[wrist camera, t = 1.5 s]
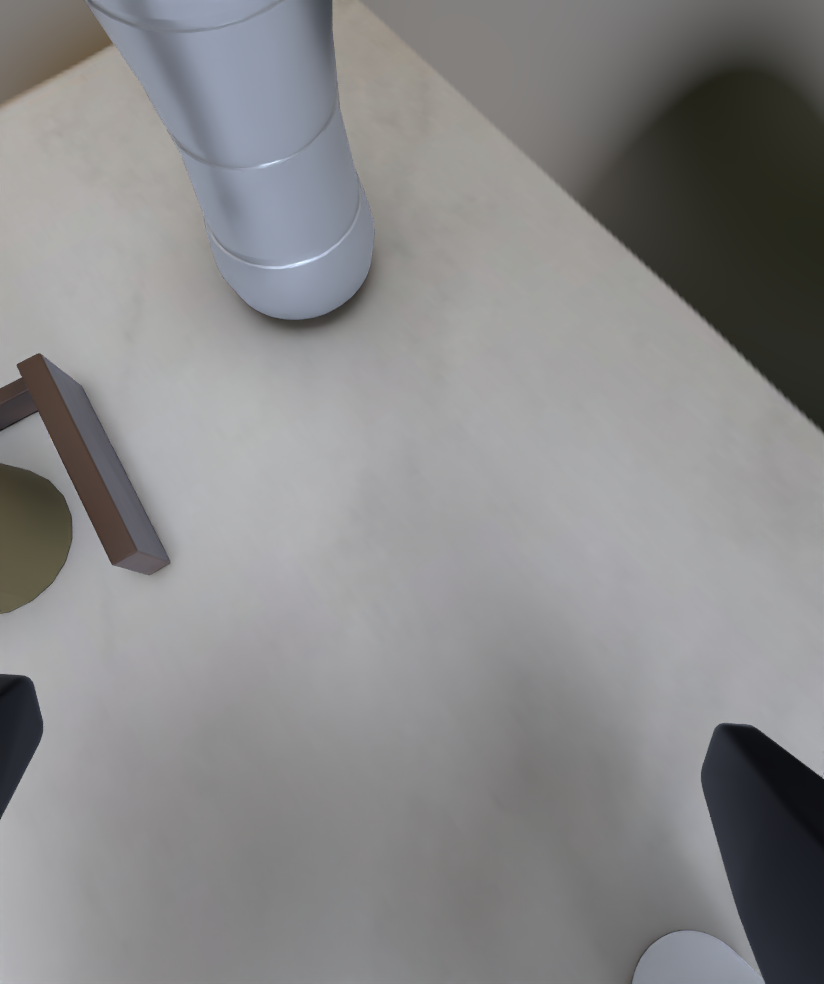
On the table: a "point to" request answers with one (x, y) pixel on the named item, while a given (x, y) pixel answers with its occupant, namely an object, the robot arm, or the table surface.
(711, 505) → the table surface
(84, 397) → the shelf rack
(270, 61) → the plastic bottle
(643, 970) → the tube
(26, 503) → the olive green pawn
